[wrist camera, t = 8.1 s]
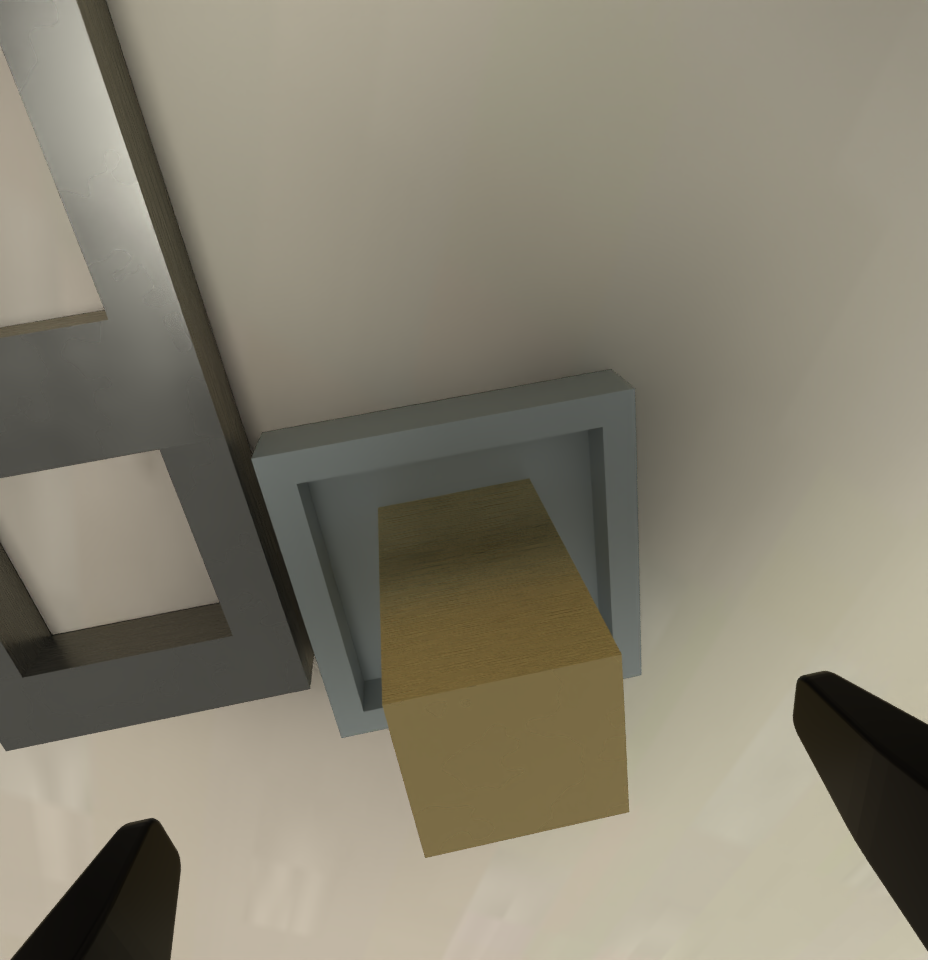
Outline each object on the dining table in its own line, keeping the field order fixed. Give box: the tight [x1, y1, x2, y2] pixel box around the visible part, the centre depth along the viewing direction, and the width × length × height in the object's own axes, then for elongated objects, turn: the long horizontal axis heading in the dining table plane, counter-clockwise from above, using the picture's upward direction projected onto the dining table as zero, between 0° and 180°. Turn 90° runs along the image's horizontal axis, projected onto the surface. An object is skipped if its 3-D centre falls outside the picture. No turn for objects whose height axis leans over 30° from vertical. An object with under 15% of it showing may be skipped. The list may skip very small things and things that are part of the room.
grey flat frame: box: [0, 0, 314, 751], centre depth 17 cm, size 10×22×2 cm, turn 8°
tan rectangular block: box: [378, 478, 629, 858], centre depth 18 cm, size 5×5×8 cm
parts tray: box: [251, 369, 641, 738], centre depth 21 cm, size 11×11×2 cm
